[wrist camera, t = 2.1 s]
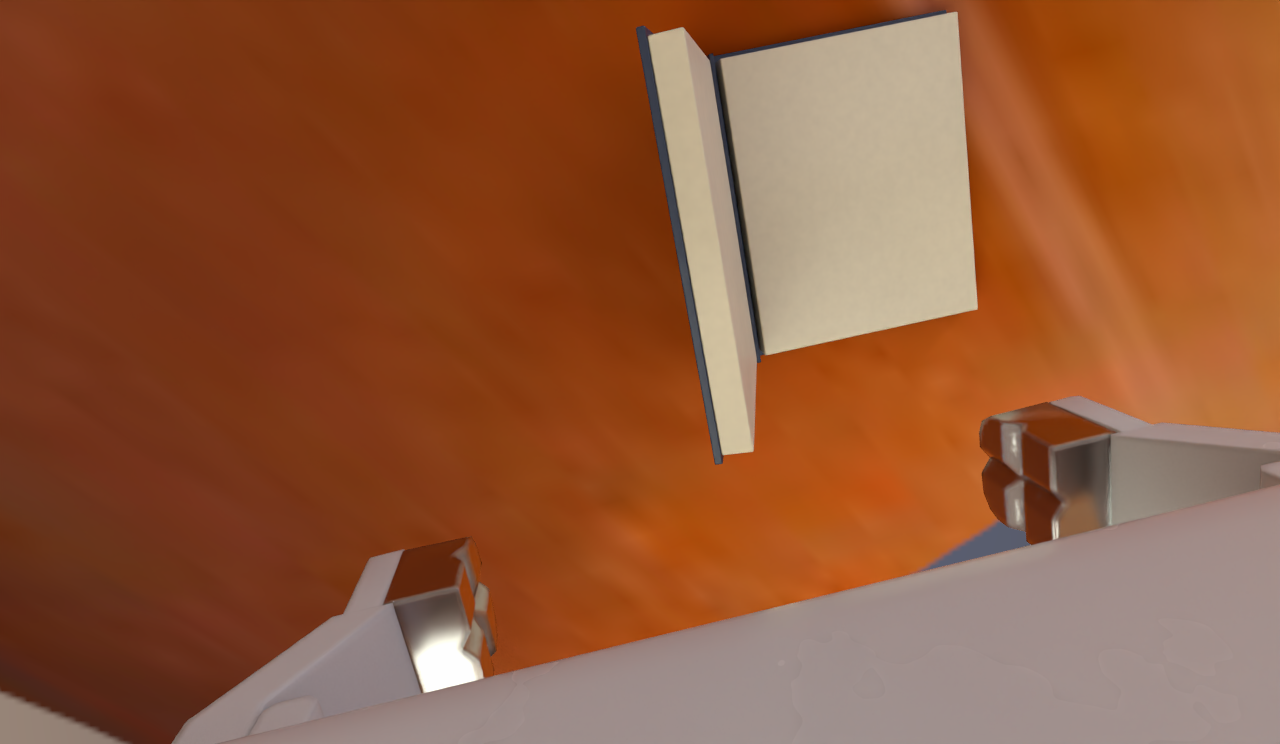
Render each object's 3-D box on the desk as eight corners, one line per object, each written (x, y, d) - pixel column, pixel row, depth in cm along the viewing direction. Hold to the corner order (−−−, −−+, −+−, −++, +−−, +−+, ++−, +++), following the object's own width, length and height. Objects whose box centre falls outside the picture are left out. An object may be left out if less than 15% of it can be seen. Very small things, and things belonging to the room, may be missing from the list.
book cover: (682, 16, 24) (634, 27, 24) (755, 460, 29) (714, 465, 29) (709, 53, 36) (677, 61, 36) (757, 363, 40) (728, 367, 41)
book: (943, 10, 38) (959, 4, 37) (965, 309, 43) (980, 314, 41) (703, 58, 38) (709, 54, 36) (750, 356, 42) (757, 363, 40)
